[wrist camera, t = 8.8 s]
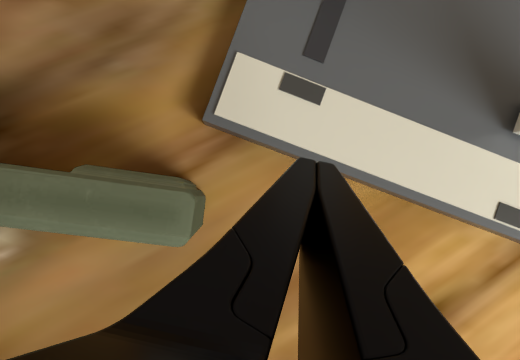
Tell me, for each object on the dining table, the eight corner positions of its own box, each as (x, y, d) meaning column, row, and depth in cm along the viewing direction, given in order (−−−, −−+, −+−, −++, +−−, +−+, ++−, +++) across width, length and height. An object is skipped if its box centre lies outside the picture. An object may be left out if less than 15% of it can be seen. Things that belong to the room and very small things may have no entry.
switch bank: (538, 250, 22) (564, 256, 20) (204, 124, 21) (201, 119, 19) (607, 49, 23) (638, 38, 21) (284, -89, 21) (288, -114, 19)
